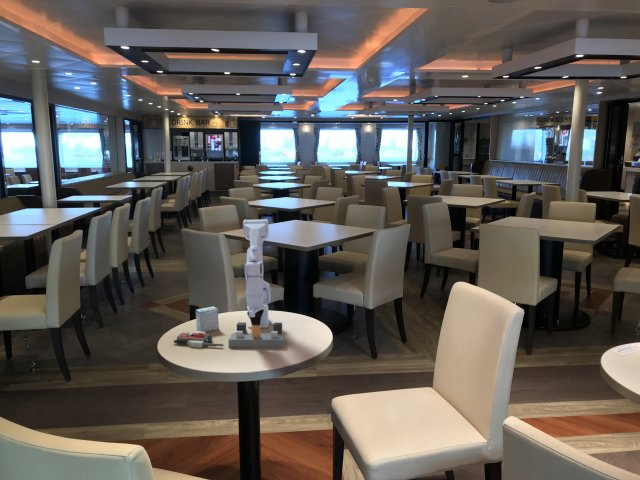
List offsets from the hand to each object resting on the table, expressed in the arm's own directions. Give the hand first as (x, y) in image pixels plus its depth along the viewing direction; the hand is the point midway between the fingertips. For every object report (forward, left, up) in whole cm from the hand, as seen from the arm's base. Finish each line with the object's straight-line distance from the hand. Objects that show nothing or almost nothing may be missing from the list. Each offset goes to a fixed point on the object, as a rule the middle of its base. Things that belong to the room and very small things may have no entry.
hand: (256, 329), depth 191 cm
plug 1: (-10, -7, -6) cm, 14 cm away
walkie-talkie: (-1, -21, -7) cm, 22 cm away
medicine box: (-17, -23, -6) cm, 29 cm away
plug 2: (-10, +7, -6) cm, 14 cm away
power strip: (-1, 0, -6) cm, 6 cm away
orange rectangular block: (-1, 0, -3) cm, 3 cm away
